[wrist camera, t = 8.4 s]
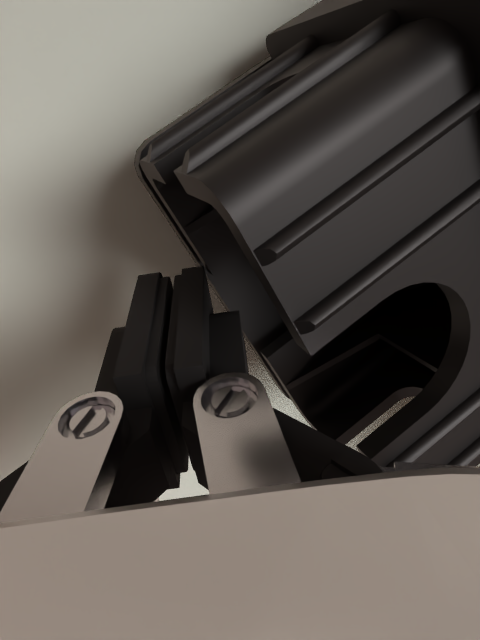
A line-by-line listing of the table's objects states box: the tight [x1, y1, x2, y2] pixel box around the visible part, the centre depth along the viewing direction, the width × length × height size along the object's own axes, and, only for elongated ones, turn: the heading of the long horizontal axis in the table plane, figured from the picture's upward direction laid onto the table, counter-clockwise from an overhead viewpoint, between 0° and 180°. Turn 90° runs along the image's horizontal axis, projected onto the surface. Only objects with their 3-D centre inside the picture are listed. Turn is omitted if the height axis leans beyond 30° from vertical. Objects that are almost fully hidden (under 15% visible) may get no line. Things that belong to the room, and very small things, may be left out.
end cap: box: [134, 0, 480, 467], centre depth 11 cm, size 10×7×7 cm
